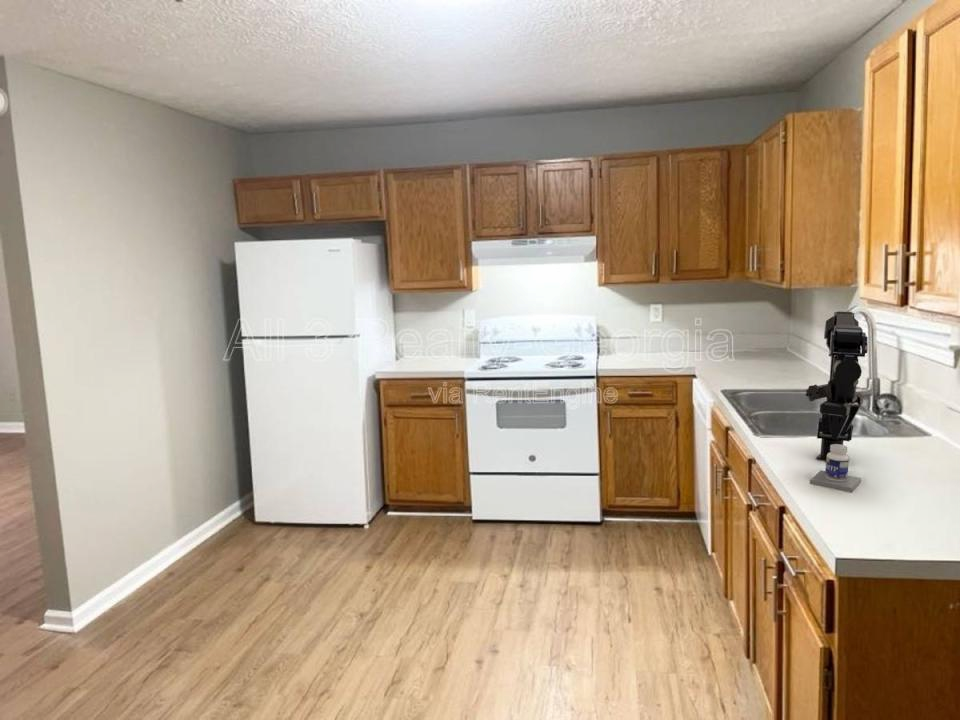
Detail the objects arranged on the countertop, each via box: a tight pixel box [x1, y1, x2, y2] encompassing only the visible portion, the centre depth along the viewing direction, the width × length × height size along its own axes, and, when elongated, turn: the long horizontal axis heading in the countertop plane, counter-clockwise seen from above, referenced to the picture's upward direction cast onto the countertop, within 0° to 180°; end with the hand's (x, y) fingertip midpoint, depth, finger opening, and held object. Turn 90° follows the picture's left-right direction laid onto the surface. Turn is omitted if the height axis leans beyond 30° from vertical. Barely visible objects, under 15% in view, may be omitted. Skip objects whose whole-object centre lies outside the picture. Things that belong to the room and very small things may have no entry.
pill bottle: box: [824, 444, 850, 482], centre depth 185 cm, size 5×5×9 cm
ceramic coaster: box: [809, 470, 862, 494], centre depth 186 cm, size 10×10×1 cm
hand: (839, 435), depth 183 cm, fingers open, 9 cm apart
